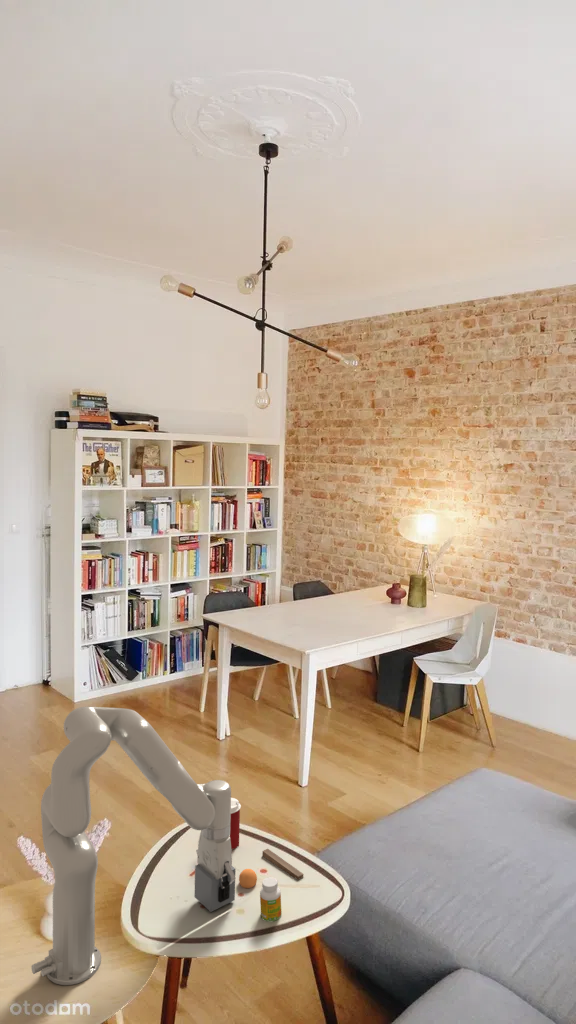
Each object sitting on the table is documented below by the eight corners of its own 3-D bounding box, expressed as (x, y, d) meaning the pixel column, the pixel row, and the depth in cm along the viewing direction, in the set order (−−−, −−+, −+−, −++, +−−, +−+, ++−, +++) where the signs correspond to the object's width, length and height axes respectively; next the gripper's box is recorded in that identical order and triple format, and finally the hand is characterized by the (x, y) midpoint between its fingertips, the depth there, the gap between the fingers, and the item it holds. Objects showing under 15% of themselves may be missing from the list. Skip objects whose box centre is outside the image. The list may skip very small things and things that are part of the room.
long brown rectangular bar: (297, 885, 191) (298, 876, 191) (262, 858, 203) (262, 850, 203) (303, 882, 193) (303, 873, 192) (267, 856, 205) (267, 848, 204)
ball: (263, 879, 190) (252, 895, 188) (252, 871, 194) (241, 886, 191) (254, 870, 188) (243, 886, 185) (243, 862, 191) (232, 878, 189)
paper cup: (244, 839, 212) (242, 796, 211) (240, 854, 205) (238, 810, 203) (219, 839, 213) (217, 796, 212) (214, 853, 206) (212, 809, 204)
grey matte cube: (210, 911, 177) (211, 879, 176) (194, 897, 183) (195, 865, 182) (234, 900, 182) (235, 868, 181) (218, 886, 188) (218, 855, 187)
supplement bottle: (267, 927, 174) (266, 891, 173) (257, 915, 178) (255, 880, 177) (285, 918, 177) (284, 883, 176) (274, 907, 181) (273, 872, 180)
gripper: (186, 819, 185) (185, 881, 186) (223, 848, 172) (222, 914, 173) (209, 811, 190) (207, 871, 191) (247, 838, 177) (245, 903, 178)
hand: (214, 891), depth 182 cm, fingers closed on grey matte cube, 7 cm apart
